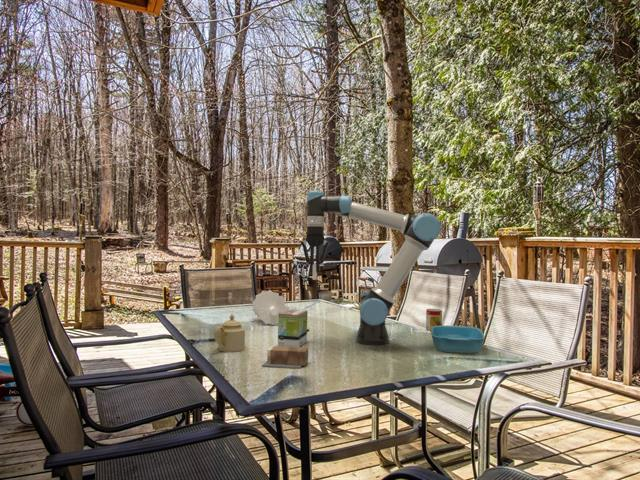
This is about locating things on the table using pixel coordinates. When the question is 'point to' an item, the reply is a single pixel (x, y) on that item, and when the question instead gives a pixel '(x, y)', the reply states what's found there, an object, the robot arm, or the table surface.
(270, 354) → the walnut block
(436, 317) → the canned food
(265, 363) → the mat
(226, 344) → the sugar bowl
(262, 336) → the table surface
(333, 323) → the table surface
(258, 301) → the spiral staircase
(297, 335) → the tea box
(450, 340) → the casserole dish
